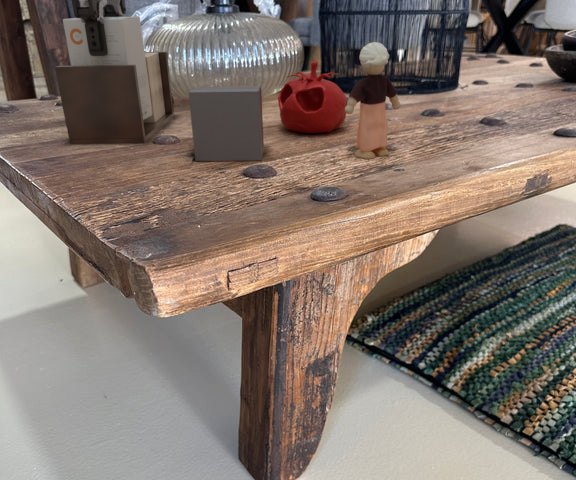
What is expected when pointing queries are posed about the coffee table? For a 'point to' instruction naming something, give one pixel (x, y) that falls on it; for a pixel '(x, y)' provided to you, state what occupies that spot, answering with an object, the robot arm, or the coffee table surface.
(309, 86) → the hollow red tomato
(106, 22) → the small box
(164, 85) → the book rack
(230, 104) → the matte grey upright block
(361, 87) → the grandmother figurine
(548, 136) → the coffee table surface
